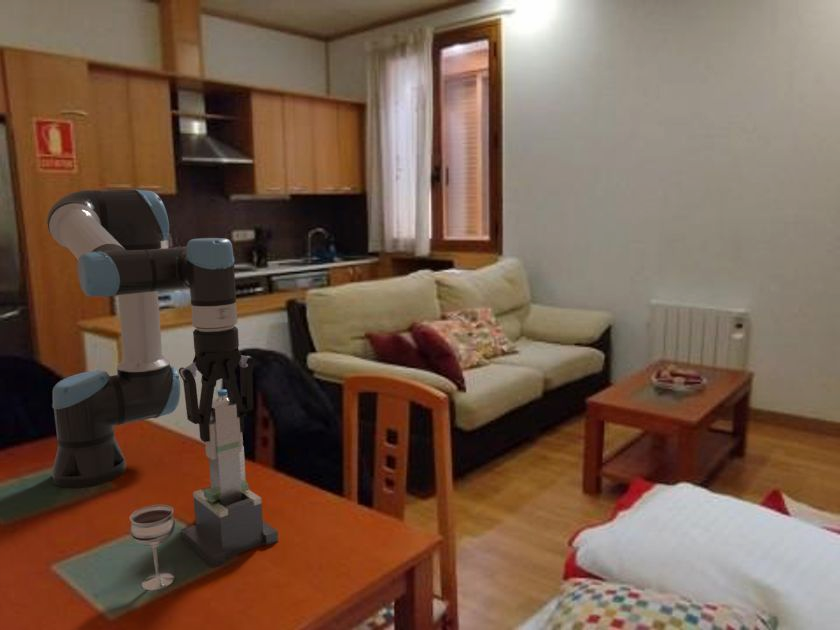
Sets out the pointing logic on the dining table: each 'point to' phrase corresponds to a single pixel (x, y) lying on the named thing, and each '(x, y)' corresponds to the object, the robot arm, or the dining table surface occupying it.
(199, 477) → the dining table surface
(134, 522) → the wineglass
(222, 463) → the column
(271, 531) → the sleeve
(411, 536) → the dining table surface
